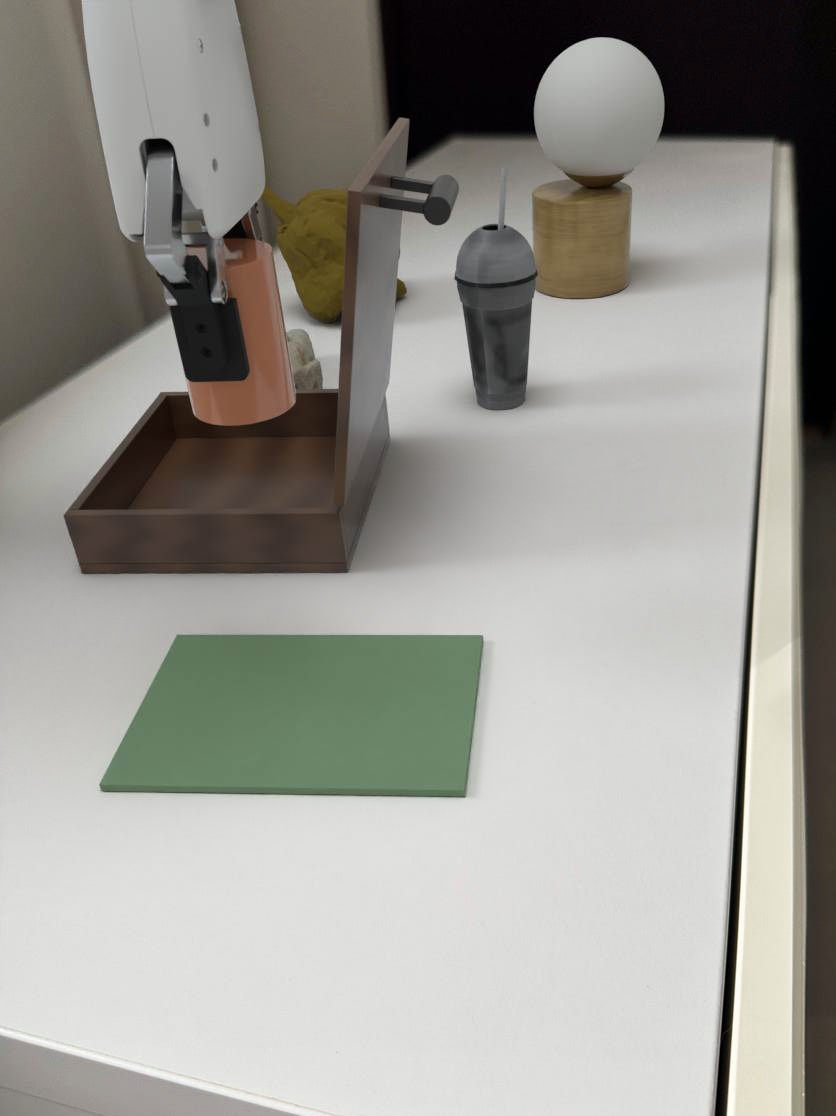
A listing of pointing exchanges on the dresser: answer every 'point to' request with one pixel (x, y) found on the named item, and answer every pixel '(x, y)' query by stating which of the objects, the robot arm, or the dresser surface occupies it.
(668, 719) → the dresser surface
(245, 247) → the cylinder
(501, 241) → the beverage cup
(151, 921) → the dresser surface
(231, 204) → the robot arm
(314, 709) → the mat
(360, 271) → the lid
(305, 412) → the chest
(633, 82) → the lamp
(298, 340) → the sculpture
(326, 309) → the olive lumpy blob
